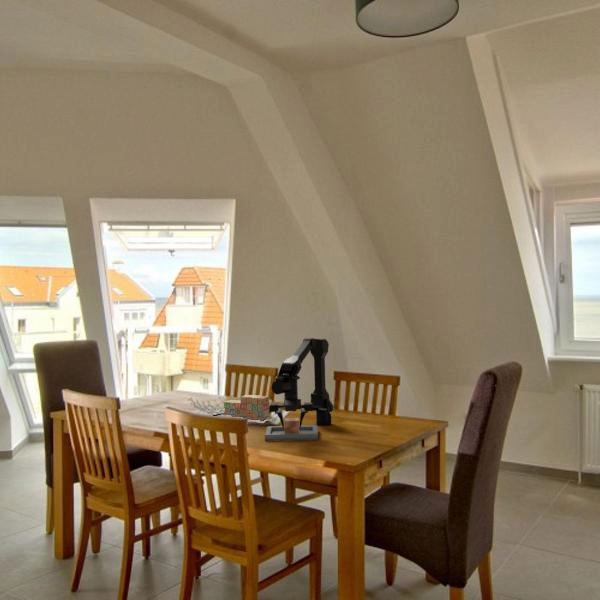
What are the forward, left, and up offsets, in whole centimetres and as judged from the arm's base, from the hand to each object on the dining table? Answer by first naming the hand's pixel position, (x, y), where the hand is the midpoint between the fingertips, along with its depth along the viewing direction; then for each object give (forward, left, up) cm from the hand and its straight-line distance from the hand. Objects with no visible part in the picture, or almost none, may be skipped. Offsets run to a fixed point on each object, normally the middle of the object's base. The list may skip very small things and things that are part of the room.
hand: (291, 427), depth 255 cm
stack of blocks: (-23, +32, -4) cm, 39 cm away
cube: (0, 0, -3) cm, 3 cm away
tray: (0, 0, -4) cm, 4 cm away
